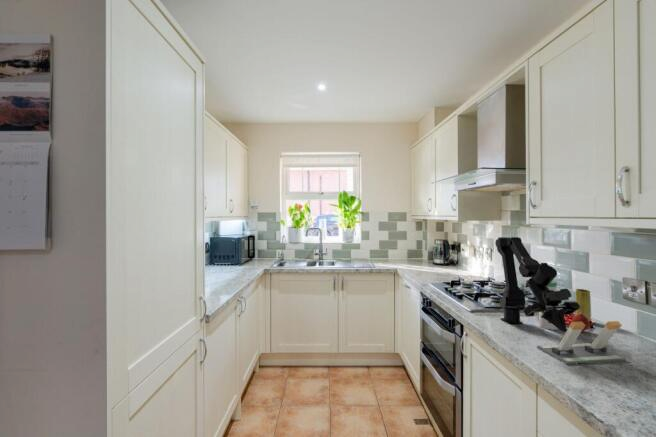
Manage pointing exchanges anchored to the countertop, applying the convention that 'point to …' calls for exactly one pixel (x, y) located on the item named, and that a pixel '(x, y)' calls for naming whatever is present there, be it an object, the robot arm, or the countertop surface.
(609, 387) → the countertop surface
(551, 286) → the milk bottle
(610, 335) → the on lever
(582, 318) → the onion
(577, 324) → the lever
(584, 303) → the vase
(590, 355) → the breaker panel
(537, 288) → the robot arm
